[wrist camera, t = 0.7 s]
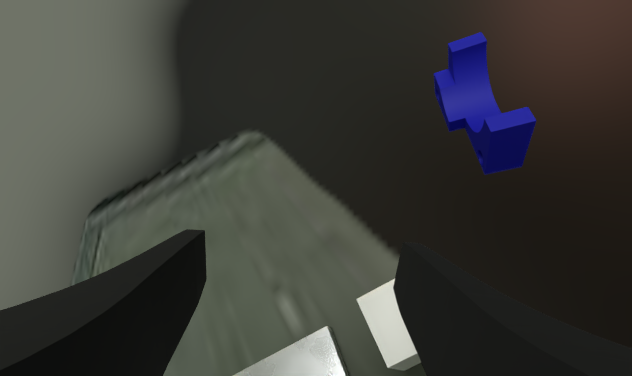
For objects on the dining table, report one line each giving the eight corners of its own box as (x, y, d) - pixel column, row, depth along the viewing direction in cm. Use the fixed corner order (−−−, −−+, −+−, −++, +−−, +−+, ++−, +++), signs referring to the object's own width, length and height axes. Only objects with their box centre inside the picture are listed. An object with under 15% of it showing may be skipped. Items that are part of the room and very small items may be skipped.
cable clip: (435, 94, 34) (432, 49, 30) (477, 81, 33) (481, 32, 28) (467, 178, 28) (469, 137, 23) (521, 167, 26) (536, 120, 22)
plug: (453, 346, 21) (454, 334, 16) (404, 370, 22) (387, 367, 16) (422, 294, 24) (412, 269, 18) (378, 317, 24) (356, 299, 19)
